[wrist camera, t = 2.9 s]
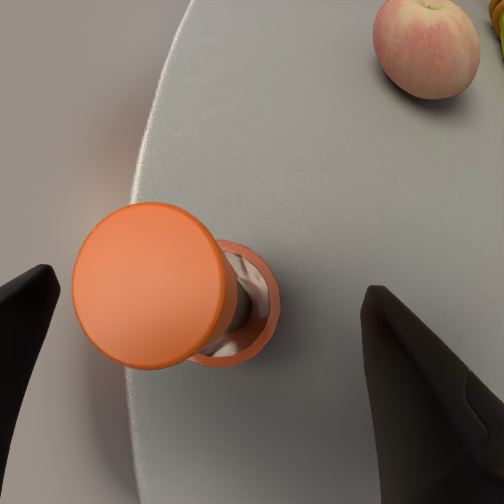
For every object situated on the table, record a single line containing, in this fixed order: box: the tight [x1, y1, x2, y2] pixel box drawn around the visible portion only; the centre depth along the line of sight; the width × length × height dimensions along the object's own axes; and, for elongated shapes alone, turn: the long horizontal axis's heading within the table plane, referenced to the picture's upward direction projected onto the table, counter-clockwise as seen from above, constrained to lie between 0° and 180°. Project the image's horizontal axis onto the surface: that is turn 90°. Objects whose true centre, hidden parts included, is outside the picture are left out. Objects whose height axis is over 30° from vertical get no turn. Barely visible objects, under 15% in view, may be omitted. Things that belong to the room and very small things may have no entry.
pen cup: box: [186, 240, 281, 367], centre depth 14 cm, size 5×5×5 cm
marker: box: [72, 202, 252, 370], centre depth 10 cm, size 3×3×12 cm
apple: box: [373, 0, 481, 99], centre depth 16 cm, size 8×8×8 cm
